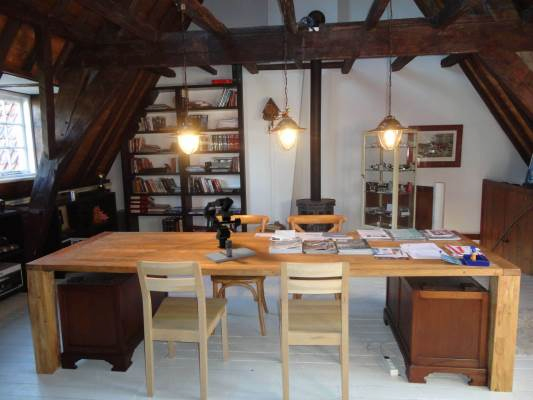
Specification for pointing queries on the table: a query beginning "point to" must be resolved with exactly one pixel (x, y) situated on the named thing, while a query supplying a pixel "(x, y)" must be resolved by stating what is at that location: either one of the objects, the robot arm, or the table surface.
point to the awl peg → (229, 248)
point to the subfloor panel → (235, 254)
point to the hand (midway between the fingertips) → (228, 233)
